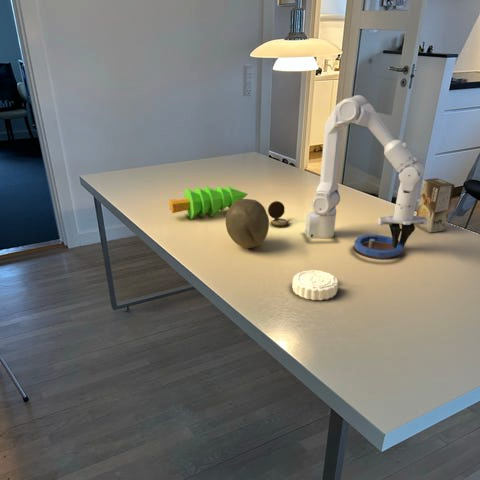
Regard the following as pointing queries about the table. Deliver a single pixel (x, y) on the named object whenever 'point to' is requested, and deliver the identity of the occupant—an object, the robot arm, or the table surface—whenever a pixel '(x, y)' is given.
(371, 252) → the ring
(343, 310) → the table surface
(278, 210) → the compass
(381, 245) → the platform
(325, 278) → the mooncake
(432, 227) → the coffee box
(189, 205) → the decorative tree
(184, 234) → the table surface
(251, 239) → the brown coconut
